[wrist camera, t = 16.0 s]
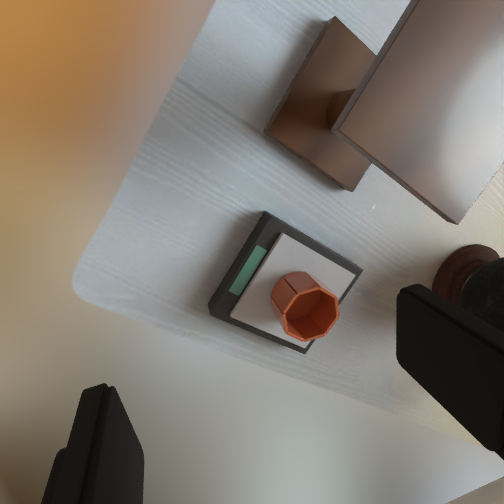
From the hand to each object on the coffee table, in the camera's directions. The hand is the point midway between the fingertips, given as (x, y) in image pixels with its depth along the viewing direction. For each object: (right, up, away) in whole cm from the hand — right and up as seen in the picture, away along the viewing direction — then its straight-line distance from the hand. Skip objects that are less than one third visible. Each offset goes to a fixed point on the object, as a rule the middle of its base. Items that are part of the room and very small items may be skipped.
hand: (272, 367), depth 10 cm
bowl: (+4, -1, +27) cm, 28 cm away
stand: (+9, +19, +25) cm, 32 cm away
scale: (+3, 0, +30) cm, 30 cm away
